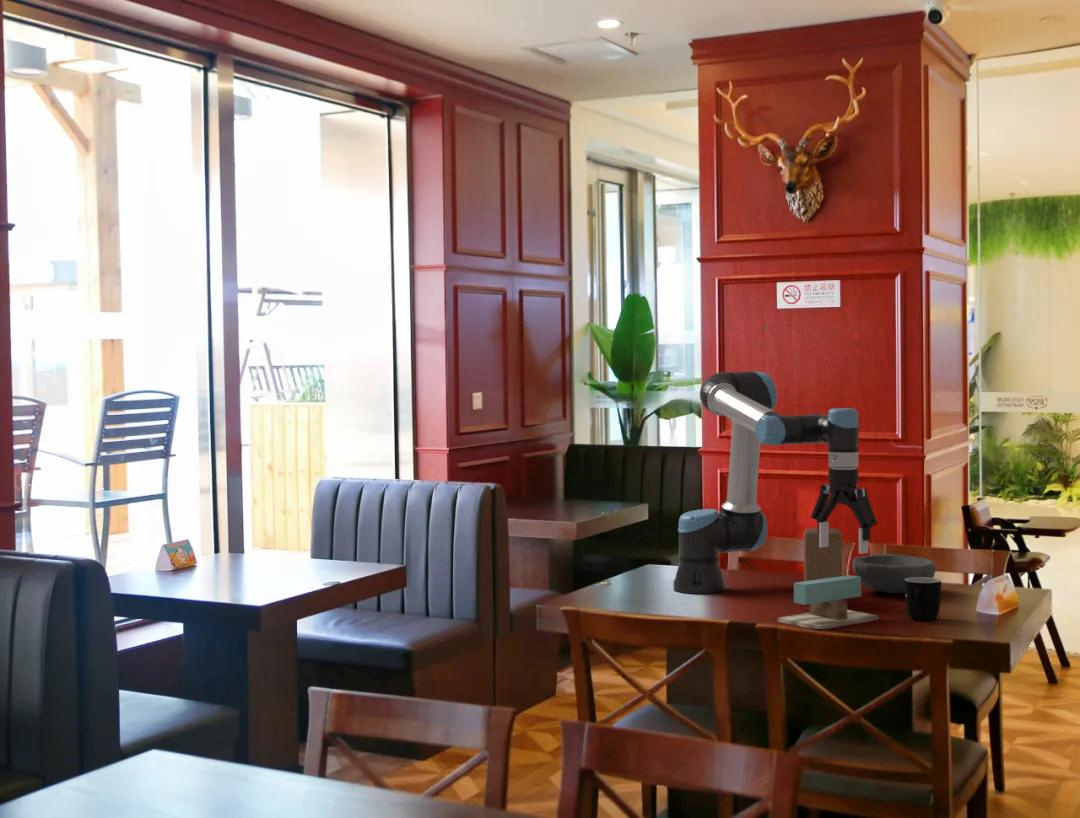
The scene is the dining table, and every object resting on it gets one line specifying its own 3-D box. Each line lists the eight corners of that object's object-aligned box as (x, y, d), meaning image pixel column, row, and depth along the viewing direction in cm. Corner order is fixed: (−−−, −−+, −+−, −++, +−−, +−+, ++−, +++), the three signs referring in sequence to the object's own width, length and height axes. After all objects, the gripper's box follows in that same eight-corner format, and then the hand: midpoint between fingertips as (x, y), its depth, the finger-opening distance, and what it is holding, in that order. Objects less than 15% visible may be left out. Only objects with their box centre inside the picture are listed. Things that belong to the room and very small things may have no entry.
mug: (909, 614, 329) (909, 576, 328) (945, 617, 324) (944, 578, 324) (897, 622, 318) (897, 582, 318) (933, 625, 314) (933, 585, 314)
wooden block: (842, 606, 342) (841, 532, 342) (804, 605, 344) (804, 532, 344) (841, 599, 352) (840, 528, 352) (804, 599, 354) (803, 528, 354)
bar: (793, 602, 318) (793, 582, 318) (849, 594, 329) (849, 575, 329) (805, 604, 315) (805, 584, 315) (861, 596, 326) (861, 577, 326)
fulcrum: (777, 621, 322) (777, 600, 322) (837, 611, 334) (837, 591, 334) (818, 630, 311) (817, 608, 310) (878, 619, 323) (878, 598, 323)
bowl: (906, 603, 345) (906, 566, 345) (838, 593, 362) (837, 558, 362) (951, 592, 361) (951, 557, 360) (883, 583, 378) (883, 550, 377)
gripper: (797, 465, 333) (798, 545, 334) (870, 472, 312) (870, 557, 313) (818, 464, 337) (818, 543, 338) (891, 470, 316) (891, 554, 317)
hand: (843, 550), depth 326 cm, fingers open, 13 cm apart
